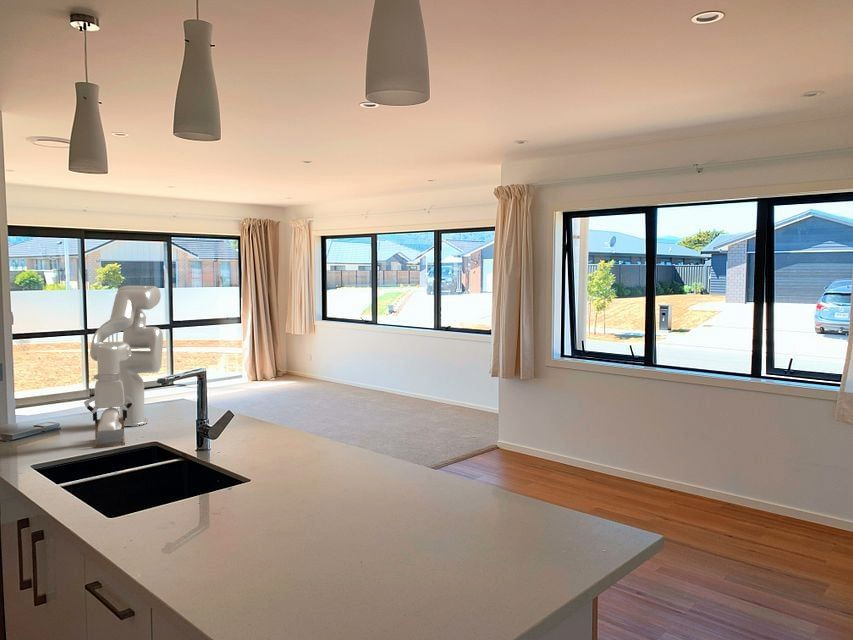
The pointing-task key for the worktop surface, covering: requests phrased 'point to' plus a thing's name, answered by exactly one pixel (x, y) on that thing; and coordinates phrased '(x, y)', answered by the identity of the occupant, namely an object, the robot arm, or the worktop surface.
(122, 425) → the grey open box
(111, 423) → the figurine
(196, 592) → the worktop surface
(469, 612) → the worktop surface
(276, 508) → the worktop surface
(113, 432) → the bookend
